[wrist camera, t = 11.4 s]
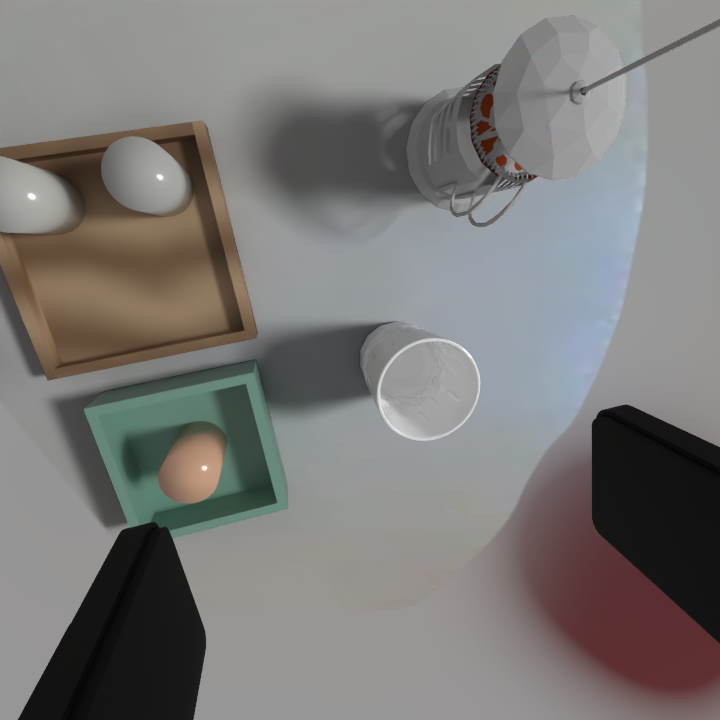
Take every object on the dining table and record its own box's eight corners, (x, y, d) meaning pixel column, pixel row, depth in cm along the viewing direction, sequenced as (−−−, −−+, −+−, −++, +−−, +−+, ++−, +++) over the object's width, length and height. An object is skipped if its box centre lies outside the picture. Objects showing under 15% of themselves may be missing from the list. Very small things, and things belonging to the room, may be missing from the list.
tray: (-25, 159, 31) (-45, 154, 29) (207, 127, 33) (203, 120, 31) (59, 373, 35) (47, 380, 33) (257, 333, 37) (256, 337, 36)
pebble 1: (8, 176, 31) (-53, 161, 25) (73, 167, 31) (27, 150, 26) (32, 239, 32) (-21, 238, 26) (93, 229, 33) (55, 226, 27)
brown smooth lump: (169, 427, 38) (150, 460, 32) (220, 416, 38) (210, 446, 33) (183, 470, 39) (167, 509, 33) (232, 459, 39) (224, 495, 34)
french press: (533, 122, 37) (984, -89, 13) (474, 249, 39) (775, 259, 15) (436, 62, 34) (786, -333, 11) (378, 201, 36) (566, 125, 13)
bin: (103, 391, 36) (83, 408, 33) (255, 359, 38) (253, 372, 34) (150, 518, 40) (137, 547, 36) (287, 484, 42) (288, 508, 38)
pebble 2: (124, 159, 32) (90, 141, 26) (184, 151, 32) (165, 131, 27) (142, 221, 33) (114, 216, 27) (200, 211, 34) (184, 205, 28)
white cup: (362, 404, 41) (388, 453, 32) (344, 326, 39) (366, 354, 29) (439, 383, 42) (486, 425, 33) (426, 306, 40) (473, 326, 30)
